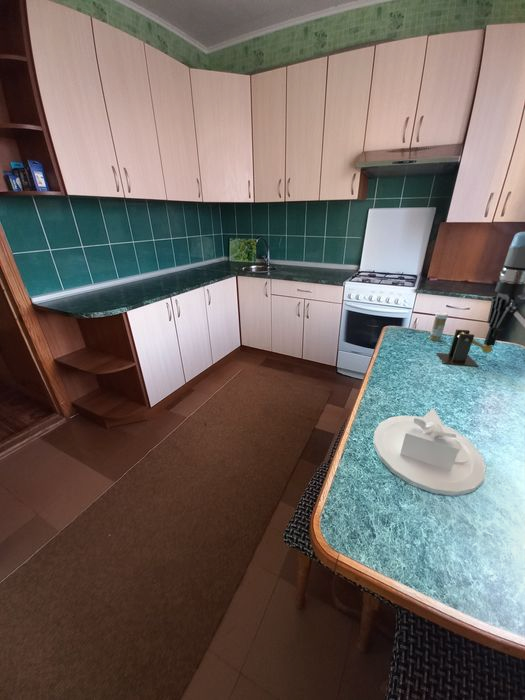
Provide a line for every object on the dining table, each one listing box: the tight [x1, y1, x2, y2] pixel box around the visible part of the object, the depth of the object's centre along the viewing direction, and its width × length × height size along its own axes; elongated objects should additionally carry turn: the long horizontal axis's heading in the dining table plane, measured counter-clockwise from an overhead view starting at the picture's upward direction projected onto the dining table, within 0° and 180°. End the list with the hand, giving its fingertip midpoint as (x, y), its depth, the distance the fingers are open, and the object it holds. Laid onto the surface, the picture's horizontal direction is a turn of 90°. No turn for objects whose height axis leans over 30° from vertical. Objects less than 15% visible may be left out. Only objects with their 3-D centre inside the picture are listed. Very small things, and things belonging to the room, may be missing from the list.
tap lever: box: [457, 332, 493, 354], centre depth 109 cm, size 13×3×3 cm, turn 78°
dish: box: [372, 407, 487, 497], centre depth 71 cm, size 25×25×11 cm
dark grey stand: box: [435, 329, 479, 368], centre depth 111 cm, size 12×9×13 cm
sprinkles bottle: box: [429, 311, 449, 342], centre depth 128 cm, size 5×5×14 cm
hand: (488, 344), depth 108 cm, fingers closed
